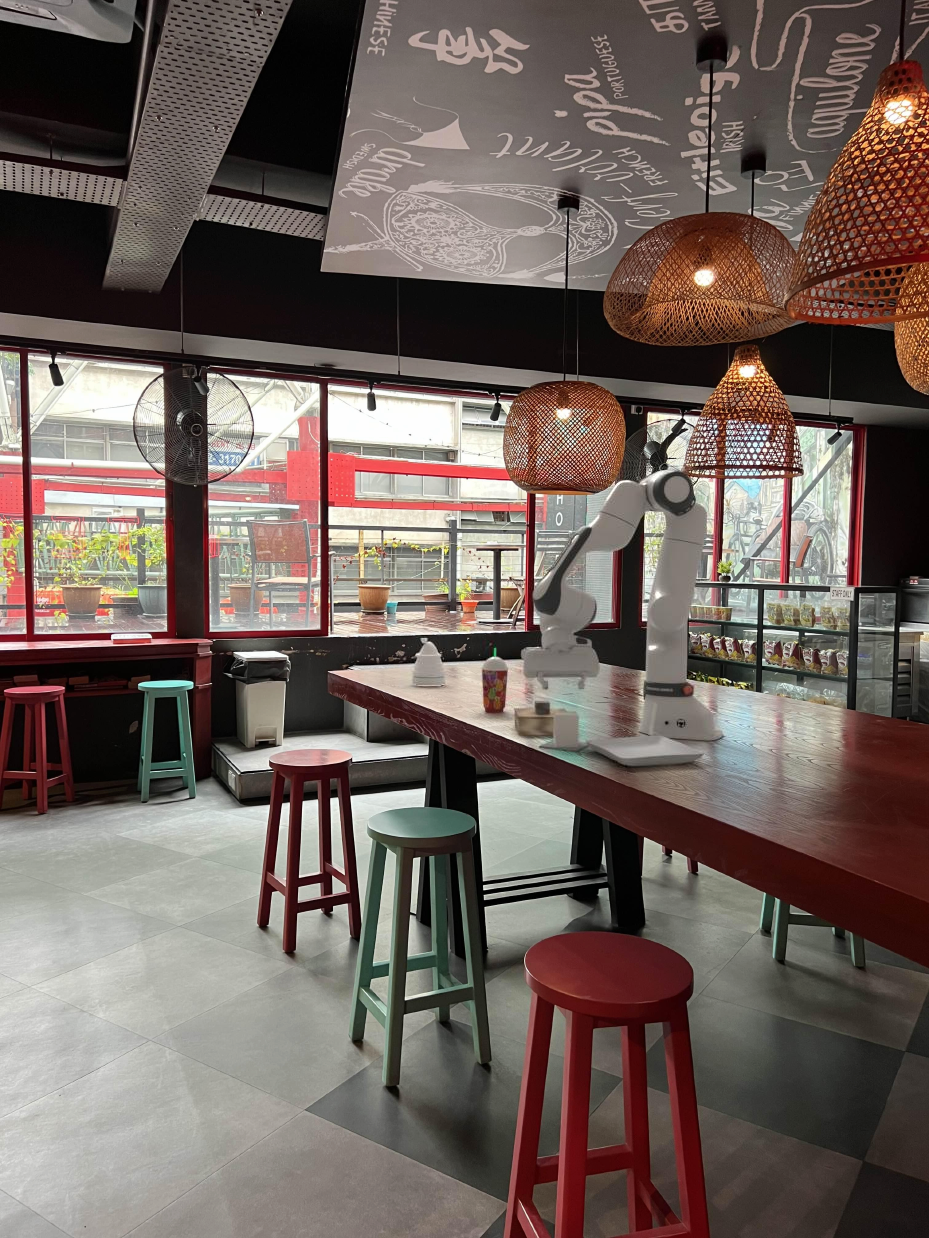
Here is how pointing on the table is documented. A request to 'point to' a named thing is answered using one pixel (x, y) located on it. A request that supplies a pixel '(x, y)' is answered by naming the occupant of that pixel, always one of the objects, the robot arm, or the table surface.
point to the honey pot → (428, 666)
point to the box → (535, 719)
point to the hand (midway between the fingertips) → (563, 688)
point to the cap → (566, 729)
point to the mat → (551, 746)
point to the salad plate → (645, 750)
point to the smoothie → (494, 684)
